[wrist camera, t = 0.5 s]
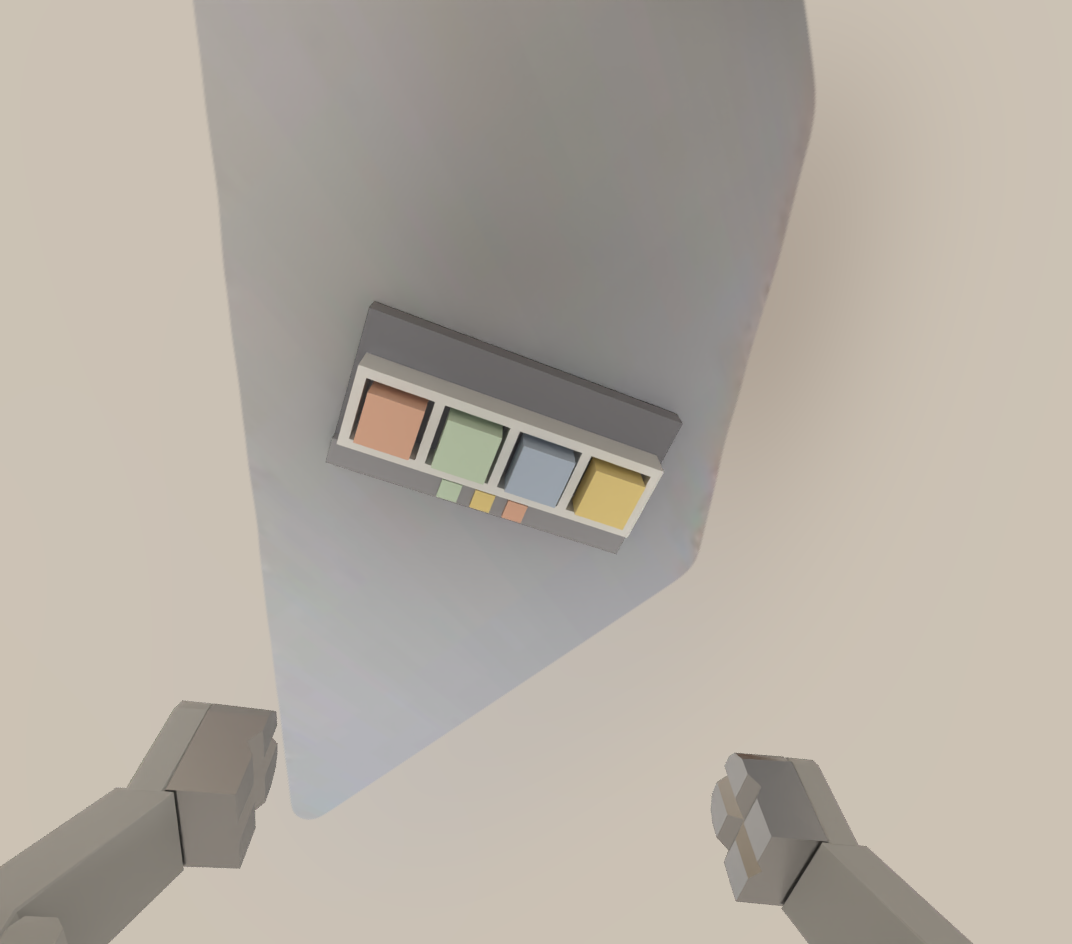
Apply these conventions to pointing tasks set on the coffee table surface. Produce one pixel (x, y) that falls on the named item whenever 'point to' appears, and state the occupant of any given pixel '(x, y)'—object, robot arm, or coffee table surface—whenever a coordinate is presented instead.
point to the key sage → (467, 446)
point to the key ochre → (608, 493)
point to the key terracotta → (390, 420)
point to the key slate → (539, 470)
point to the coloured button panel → (498, 421)
